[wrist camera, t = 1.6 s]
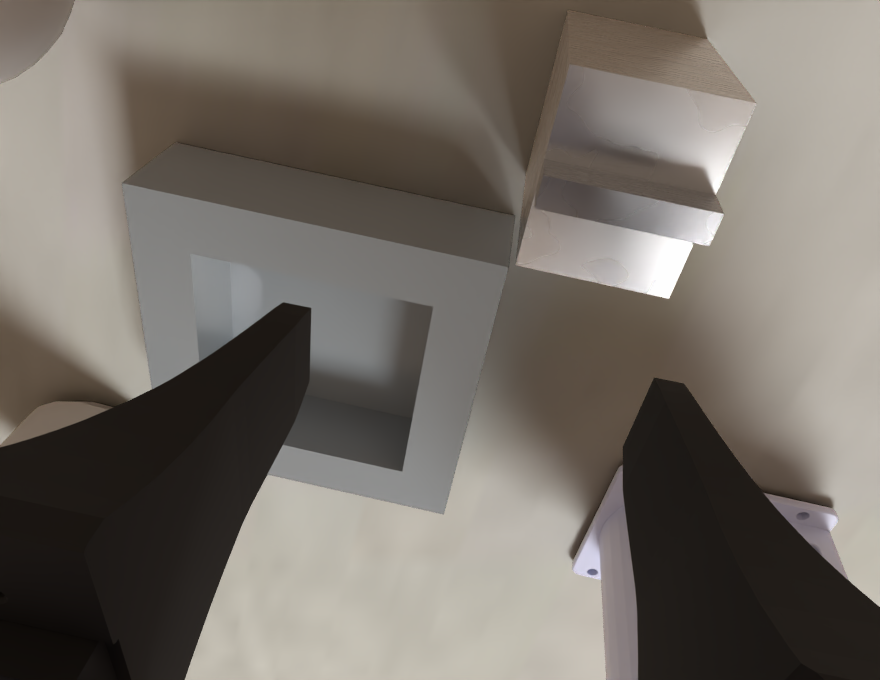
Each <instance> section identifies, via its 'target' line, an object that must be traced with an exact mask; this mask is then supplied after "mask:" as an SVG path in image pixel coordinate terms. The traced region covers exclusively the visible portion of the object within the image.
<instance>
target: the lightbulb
mask: <svg viewBox="0 0 880 680" xmlns="http://www.w3.org/2000/svg"><path fill="white" fill-rule="evenodd" d="M74 1H75V0H0V84H1V83H4V82H6V81H8V80H11V79H13V78H16V77H17V76H19V75H20V74H21V73H23V72H24V71H26V70H27V69H29V68H30V67H32V66H33V65H34V64H35V63H36V62H37V61H38V60H40V59H41V58H42V57H43V56H44V55H45V54H46V53H47V52H48V50H49V49H50V48H51V47H52V45H53V44H54V43H55V42H56V40H57V39H58V38H59V37H60V35H61V34H62V32H63V30H64V27H65V25H66V23H67V20H68V18H69V16H70V13H71V11H72V7H73V4H74Z"/></svg>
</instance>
